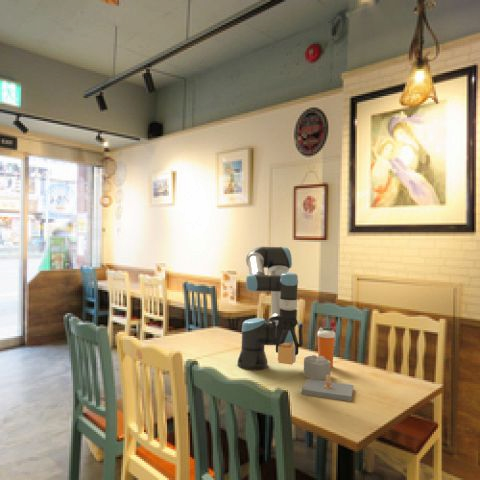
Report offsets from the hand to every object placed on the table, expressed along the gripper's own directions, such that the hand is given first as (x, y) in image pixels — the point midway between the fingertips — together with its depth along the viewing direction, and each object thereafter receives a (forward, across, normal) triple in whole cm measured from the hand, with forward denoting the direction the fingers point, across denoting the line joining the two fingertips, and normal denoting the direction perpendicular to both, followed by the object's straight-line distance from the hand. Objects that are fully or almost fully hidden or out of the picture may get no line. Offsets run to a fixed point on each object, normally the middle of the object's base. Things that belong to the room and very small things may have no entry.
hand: (286, 360), depth 178 cm
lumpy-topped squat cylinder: (+11, +10, +19) cm, 25 cm away
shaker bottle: (+12, +13, +34) cm, 39 cm away
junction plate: (+11, +18, -1) cm, 21 cm away
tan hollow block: (0, 0, 0) cm, 0 cm away
